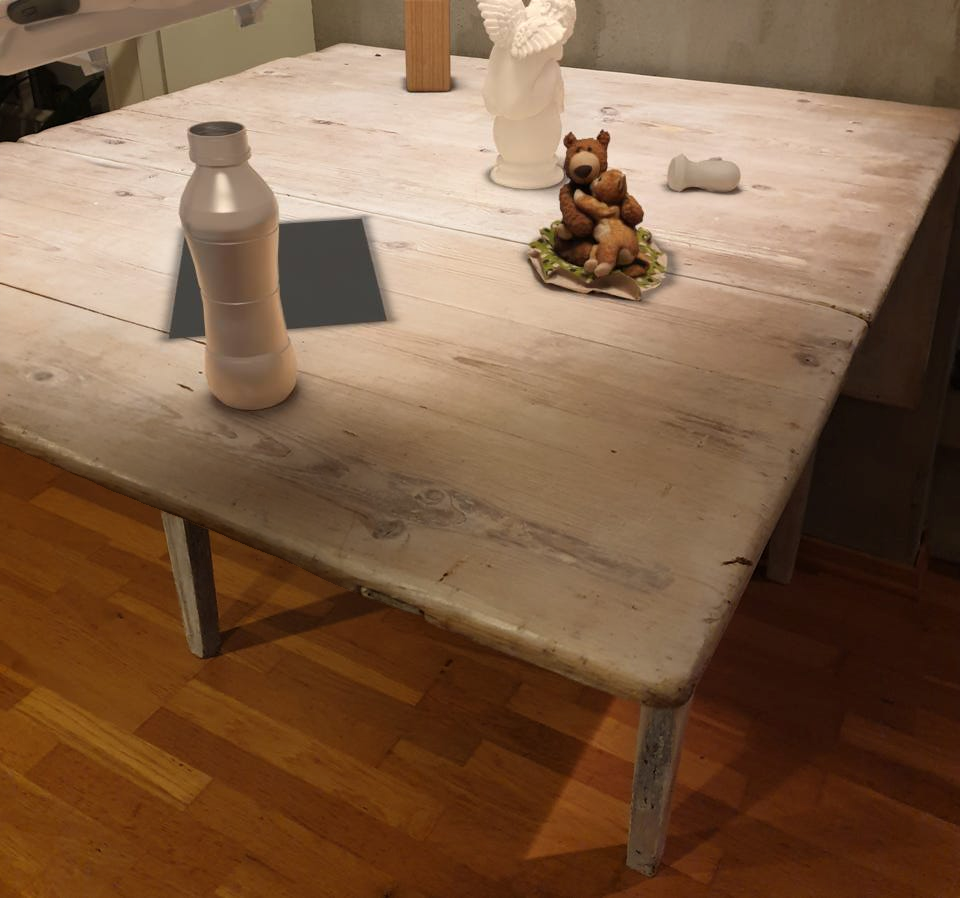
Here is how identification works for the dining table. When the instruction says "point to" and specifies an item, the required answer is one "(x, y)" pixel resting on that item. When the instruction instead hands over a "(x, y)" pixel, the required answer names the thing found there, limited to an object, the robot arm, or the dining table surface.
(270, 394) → the plastic bottle
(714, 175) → the pale two-lobed sculpture
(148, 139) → the dining table surface
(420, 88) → the decorative item
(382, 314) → the mat
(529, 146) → the cherub figurine
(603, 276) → the bear figurine
